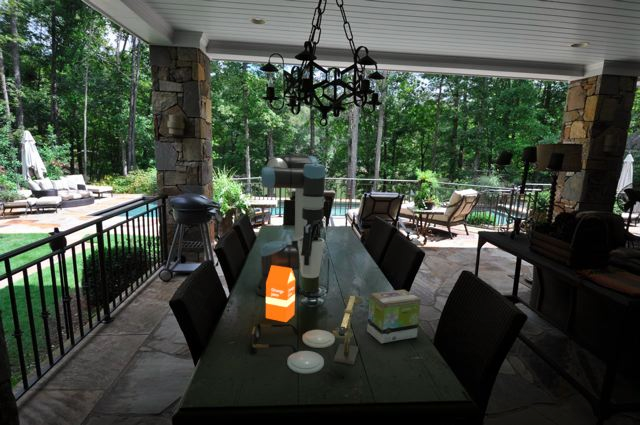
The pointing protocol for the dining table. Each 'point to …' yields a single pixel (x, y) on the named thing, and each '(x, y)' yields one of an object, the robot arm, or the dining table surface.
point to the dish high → (318, 338)
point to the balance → (346, 333)
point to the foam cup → (316, 257)
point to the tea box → (393, 315)
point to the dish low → (305, 362)
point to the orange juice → (280, 293)
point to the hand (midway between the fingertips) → (311, 269)
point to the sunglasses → (257, 332)
